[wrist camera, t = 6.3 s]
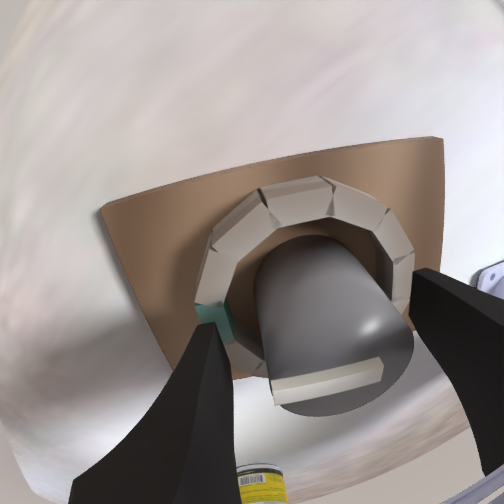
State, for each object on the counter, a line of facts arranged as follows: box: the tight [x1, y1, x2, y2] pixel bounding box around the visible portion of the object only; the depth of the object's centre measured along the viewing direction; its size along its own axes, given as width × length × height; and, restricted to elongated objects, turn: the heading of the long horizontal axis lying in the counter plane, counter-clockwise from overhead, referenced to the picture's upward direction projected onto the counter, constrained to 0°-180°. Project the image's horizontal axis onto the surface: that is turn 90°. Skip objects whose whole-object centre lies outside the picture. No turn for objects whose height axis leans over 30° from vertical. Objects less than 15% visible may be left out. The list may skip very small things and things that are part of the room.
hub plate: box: [100, 136, 445, 380], centre depth 12 cm, size 14×10×2 cm
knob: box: [254, 234, 414, 417], centre depth 10 cm, size 4×4×5 cm
